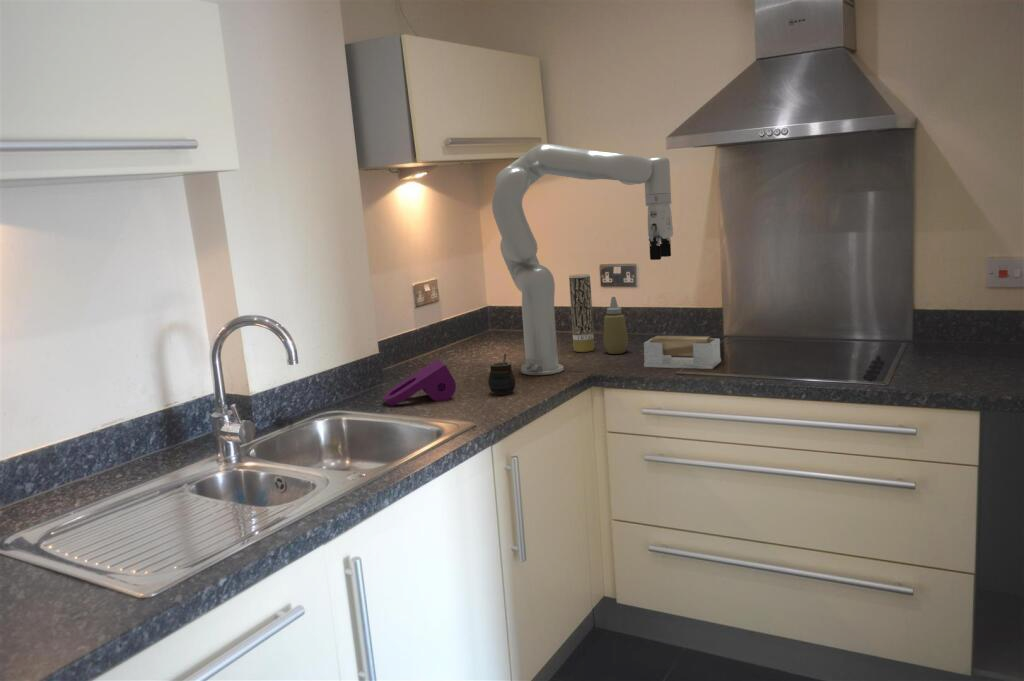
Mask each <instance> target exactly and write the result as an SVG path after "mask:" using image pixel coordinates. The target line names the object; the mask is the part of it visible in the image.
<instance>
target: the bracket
mask: <svg viewBox="0 0 1024 681" xmlns="http://www.w3.org/2000/svg"><path fill="white" fill-rule="evenodd" d="M652 338H653V337H652ZM652 338H650V339H647V341H645V342H643V353H644V354H643V355H644V356H643V357H644V358H643V359H644V363H643V368H665V369H666V368H668V369H669V368H671V369H698V370H699V369H703V370H707V369H708V370H713V369H714V368H715V367H717V366H718V365H719V364H720V363H721V362H722V358H721V340H720V338H716V337H715V338H714V337H713V338H712V337H710V343H693V356H692V357H685V356H684V357H683V356H682V357H681V356H678V357H676V356H675V357H674V356H673V357H672V355H664V347H663V342H652Z"/></svg>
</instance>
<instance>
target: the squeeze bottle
mask: <svg viewBox="0 0 1024 681" xmlns="http://www.w3.org/2000/svg"><path fill="white" fill-rule="evenodd" d="M625 316H626V315H624V314H623V313H622V307H619V305H618V302H617V298H616V296H612V297H611V299H610V305H609V307H607V308H606V315H604V317H603V318H604V319H603V320H604V321H603V341H602V343H603V345H604V348H605V351H606V353H607V354H609V355H610V354H611V355H620V354H624V353H625V352H626V351H627V347H628V344H629V338H628V337H629V335H628V330H627V324H626V317H625Z"/></svg>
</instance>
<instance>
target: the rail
mask: <svg viewBox="0 0 1024 681" xmlns="http://www.w3.org/2000/svg"><path fill="white" fill-rule="evenodd" d="M710 338H711V336H708V335H705V336H704V335H701V336H699V335H656V336H654V337H652V342H663V347H664V355H671V356H675V357H676V356H678V357H681V356H682V357H683V356H684V357H686V356H687V357H688V356H689V357H693V343H710Z"/></svg>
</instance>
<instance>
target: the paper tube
mask: <svg viewBox="0 0 1024 681" xmlns="http://www.w3.org/2000/svg"><path fill="white" fill-rule="evenodd" d="M568 282H569V296H570V298H569V299H570V312H571V313H570V315H571V328H572V331H571V332H572V344H573V351H574V352H576V353H587V352H592V351H594V349H595V341H594V340H595V338H594V322H593V306H592V305H593V302H592V288H591V286H592V283H591V275H590V273H579V274H578V273H576V274H570V275H569V276H568Z"/></svg>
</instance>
